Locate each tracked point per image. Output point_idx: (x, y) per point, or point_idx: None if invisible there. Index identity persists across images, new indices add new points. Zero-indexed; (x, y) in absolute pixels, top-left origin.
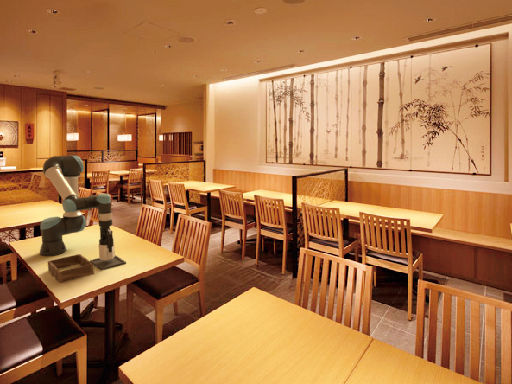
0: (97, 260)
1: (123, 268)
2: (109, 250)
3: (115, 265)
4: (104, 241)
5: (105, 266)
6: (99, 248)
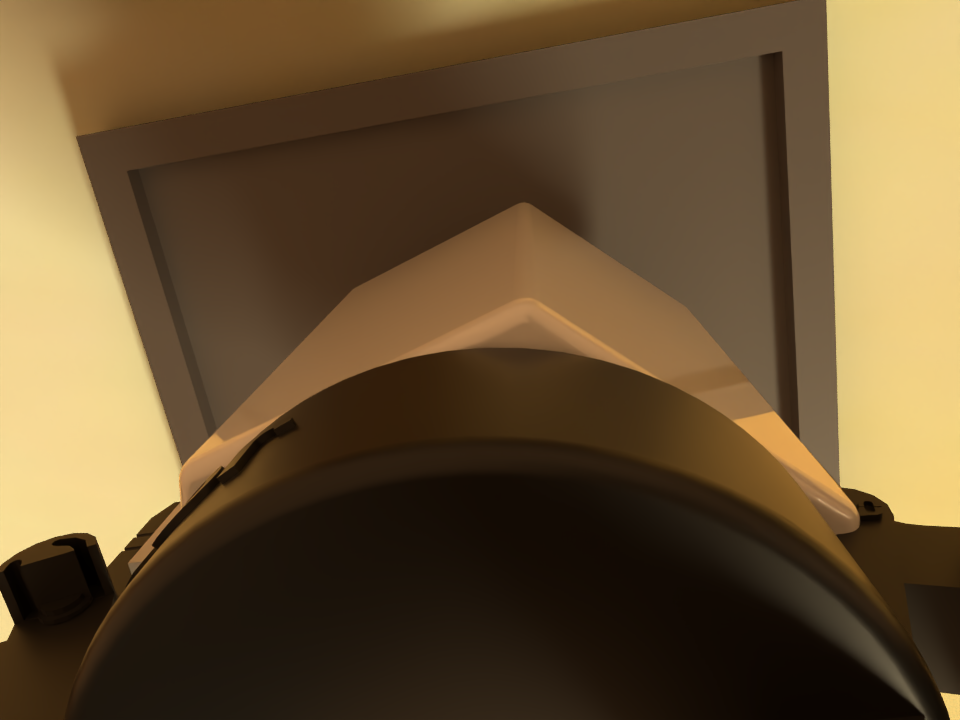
0: (740, 177)
1: (34, 520)
2: (132, 545)
3: (183, 438)
4: (82, 693)
5: (234, 257)
6: (474, 282)
